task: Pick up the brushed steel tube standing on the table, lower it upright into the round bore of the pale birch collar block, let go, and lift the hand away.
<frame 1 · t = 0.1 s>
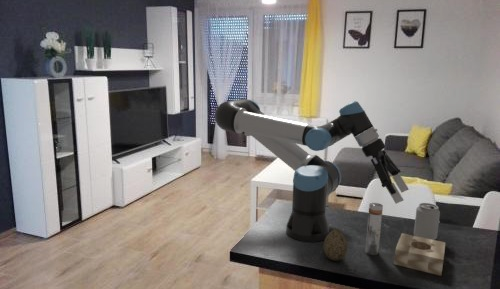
hand: (402, 196, 133), 15 cm above the table, tool tilted 35°, fingers open, 13 cm apart
can: (424, 238, 137), on the table
decorative egg: (334, 260, 120), on the table
collar: (419, 260, 120), on the table
tube: (371, 252, 125), on the table
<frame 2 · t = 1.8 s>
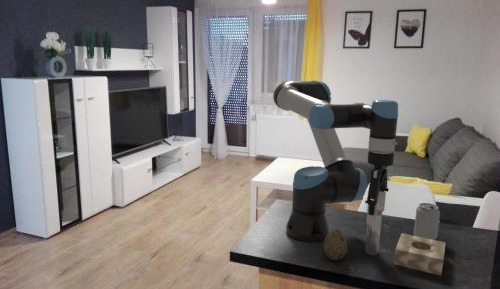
hand: (375, 217, 122), 12 cm above the table, tool pointing down, fingers open, 13 cm apart
nothing on the table moved.
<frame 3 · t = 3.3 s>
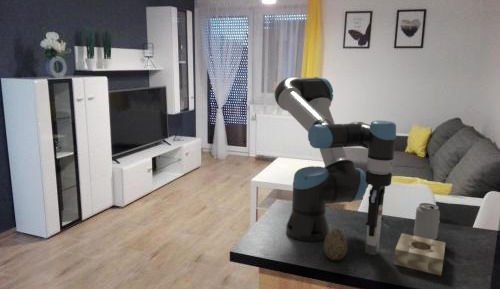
hand: (372, 241, 124), 4 cm above the table, tool pointing down, fingers closed on tube, 4 cm apart
tube: (371, 252, 125), on the table, touching gripper
everything else where it was.
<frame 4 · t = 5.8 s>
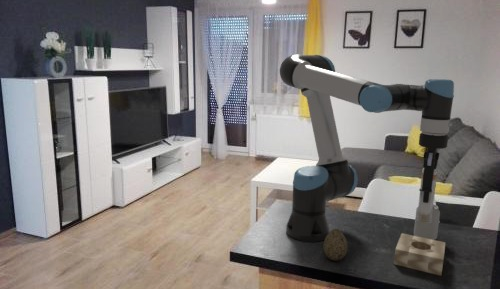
hand: (425, 209, 117), 17 cm above the table, tool pointing down, fingers closed on tube, 4 cm apart
tube: (423, 220, 118), point 13 cm above the table, touching gripper
everything else where it was.
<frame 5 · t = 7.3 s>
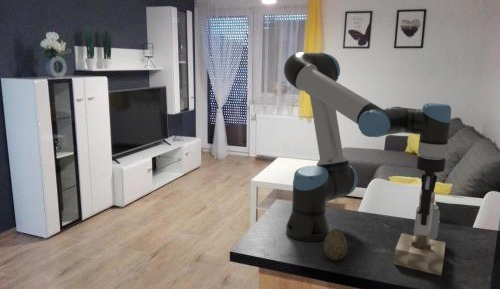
hand: (423, 231, 118), 10 cm above the table, tool pointing down, fingers closed on tube, 4 cm apart
tube: (421, 242, 119), point 6 cm above the table, touching gripper
everything else where it was.
when the fingers open (7 cm above the table, at t = 8.3 s): tube drops 2 cm, resting in collar.
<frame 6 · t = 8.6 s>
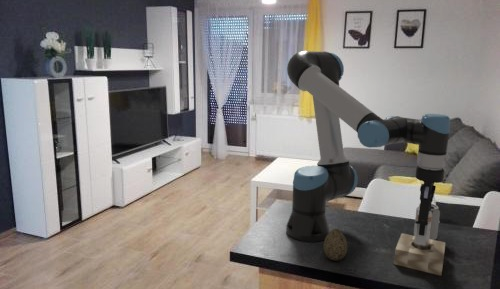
hand: (421, 238, 119), 7 cm above the table, tool pointing down, fingers open, 8 cm apart
tube: (419, 260, 120), resting in collar
everything else where it was.
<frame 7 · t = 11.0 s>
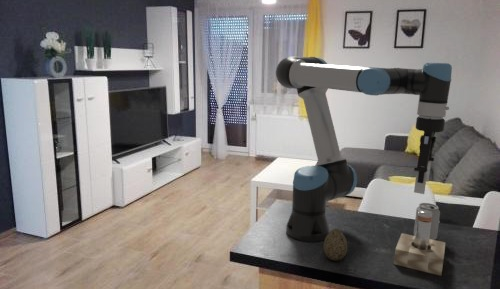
hand: (421, 186, 117), 23 cm above the table, tool pointing down, fingers open, 13 cm apart
nothing on the table moved.
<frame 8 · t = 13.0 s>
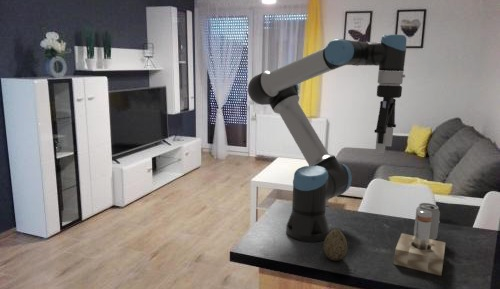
hand: (383, 149, 129), 32 cm above the table, tool pointing down, fingers open, 13 cm apart
nothing on the table moved.
at the end: tube 0.1 cm off-centre on the collar, point 0.0 cm above the collar's base; tube tilted 0°; the gripper is holding nothing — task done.
